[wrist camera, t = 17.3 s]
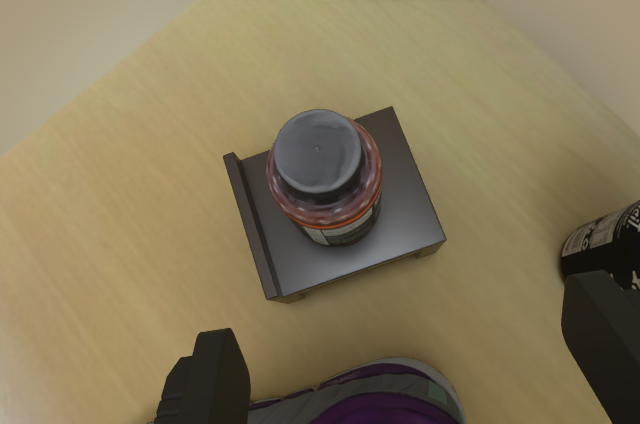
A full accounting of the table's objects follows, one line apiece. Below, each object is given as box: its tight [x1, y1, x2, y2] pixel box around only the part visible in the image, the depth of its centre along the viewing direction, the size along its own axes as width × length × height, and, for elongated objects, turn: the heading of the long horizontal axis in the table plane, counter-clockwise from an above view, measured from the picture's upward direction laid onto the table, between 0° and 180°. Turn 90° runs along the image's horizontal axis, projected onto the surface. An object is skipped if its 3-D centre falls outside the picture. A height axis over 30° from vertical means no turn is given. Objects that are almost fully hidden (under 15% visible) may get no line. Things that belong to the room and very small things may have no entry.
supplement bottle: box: [266, 109, 383, 247], centre depth 27 cm, size 6×6×11 cm
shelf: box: [223, 106, 446, 304], centre depth 35 cm, size 12×10×8 cm
